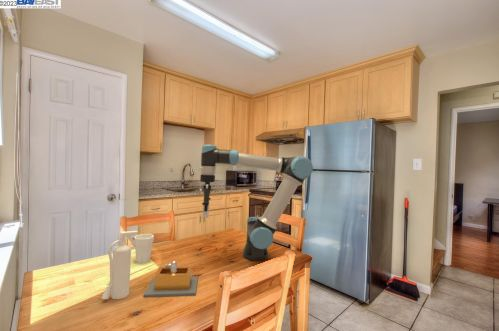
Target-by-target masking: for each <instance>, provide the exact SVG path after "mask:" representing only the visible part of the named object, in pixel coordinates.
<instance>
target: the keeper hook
mask: <svg viewBox="0 0 499 331" xmlns="http://www.w3.org/2000/svg"><path fill="white" fill-rule="evenodd" d="M164 267H166V268H171V274H176V273H177V267H178V262H177V261H176V260H173V261H171V263H165V264H164Z"/></svg>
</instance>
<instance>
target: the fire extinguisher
mask: <svg viewBox="0 0 499 331" xmlns="http://www.w3.org/2000/svg"><path fill="white" fill-rule="evenodd" d="M137 235H139V231H138V230H130V231H128V230H127V231H119V233H118V236H117V237H118V238H119V239H117V240H115V241H113V242H112V243H111V244H109V248H108V252H107V253H108V257H109V258H108V259H109V282H108V285H107V286H106V288H105V290H104V292H103V294H102V296H101V299H102V300H108V299H110V298H111V299H113V300H122V299H123V298H124V299H125V298H126V297H128V295H129V294H130V282H131V263H132V262H131V261H132V260H131V259H132V248H131V246H133V247H135V245H136V243H135V240H134V237H131V236H137ZM126 238H127V239H128V240H129V241H130V244H131V246H130V245H129V244H127V240H126ZM116 244H118V245H116ZM114 245H116V246H114ZM113 246H114V247H113Z"/></svg>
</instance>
